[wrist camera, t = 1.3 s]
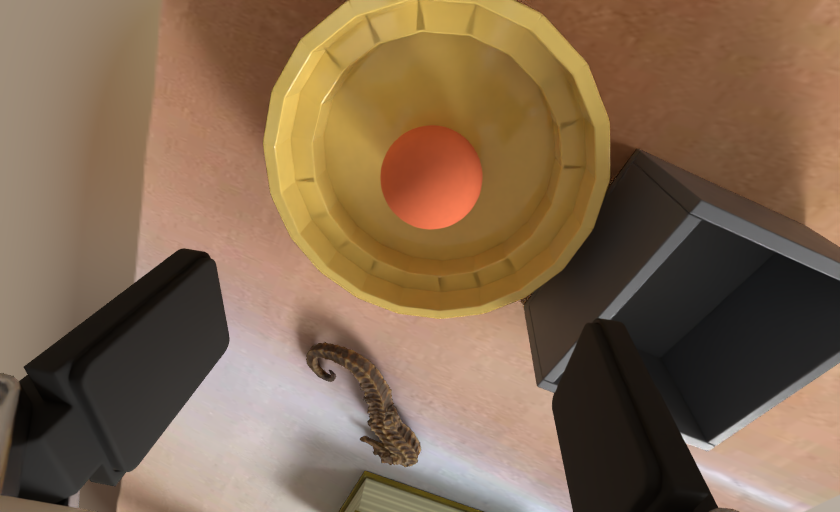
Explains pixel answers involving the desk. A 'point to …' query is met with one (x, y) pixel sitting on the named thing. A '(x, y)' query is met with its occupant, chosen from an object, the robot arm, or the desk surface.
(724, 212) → the bin
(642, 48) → the desk surface
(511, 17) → the bowl
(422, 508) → the hardcover book
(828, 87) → the desk surface
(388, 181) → the toy ball
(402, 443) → the seahorse
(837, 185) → the desk surface
